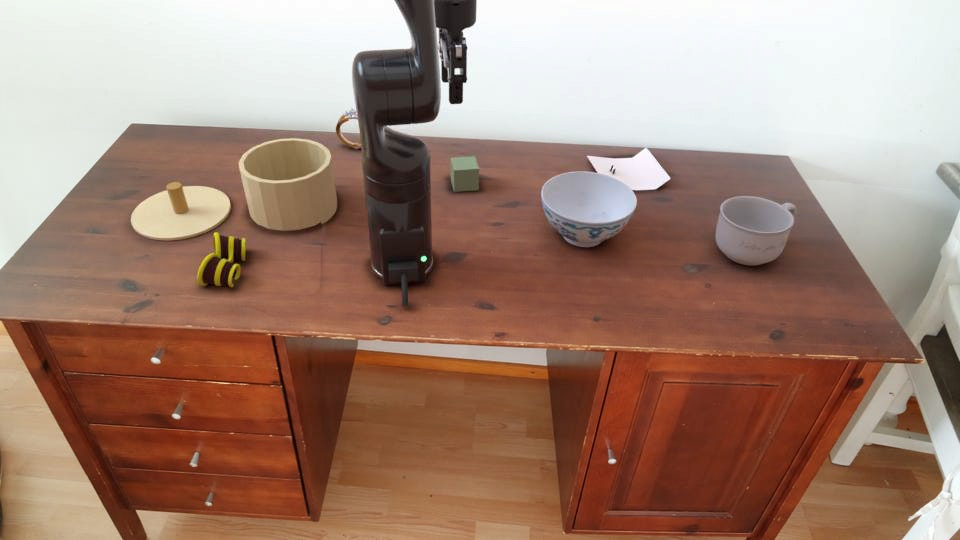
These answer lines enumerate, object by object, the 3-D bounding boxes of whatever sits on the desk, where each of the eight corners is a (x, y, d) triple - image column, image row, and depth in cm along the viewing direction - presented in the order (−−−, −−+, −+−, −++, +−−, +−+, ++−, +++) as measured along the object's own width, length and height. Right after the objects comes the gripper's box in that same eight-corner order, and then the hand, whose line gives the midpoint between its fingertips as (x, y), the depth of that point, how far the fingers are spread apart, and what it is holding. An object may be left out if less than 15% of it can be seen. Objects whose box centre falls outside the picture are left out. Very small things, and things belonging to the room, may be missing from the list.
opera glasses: (235, 296, 95) (235, 270, 92) (197, 292, 94) (195, 265, 91) (249, 255, 103) (249, 230, 100) (214, 251, 102) (213, 225, 99)
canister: (337, 229, 107) (331, 179, 101) (245, 236, 105) (233, 185, 99) (337, 183, 118) (331, 136, 112) (253, 188, 116) (243, 140, 110)
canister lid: (225, 239, 104) (217, 208, 101) (122, 247, 102) (110, 215, 98) (236, 188, 116) (229, 159, 112) (144, 194, 114) (133, 164, 110)
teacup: (732, 279, 100) (747, 236, 95) (696, 238, 109) (708, 197, 103) (809, 266, 104) (827, 224, 99) (768, 227, 112) (783, 187, 107)
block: (478, 190, 118) (479, 168, 115) (453, 192, 117) (454, 170, 115) (474, 177, 121) (475, 156, 119) (450, 179, 121) (450, 157, 118)
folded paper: (585, 160, 128) (587, 151, 126) (644, 156, 130) (646, 147, 128) (606, 193, 118) (608, 184, 117) (669, 188, 121) (671, 179, 119)
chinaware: (646, 252, 105) (655, 212, 100) (562, 271, 101) (568, 231, 96) (599, 203, 116) (606, 165, 111) (522, 219, 111) (525, 180, 106)
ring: (375, 145, 130) (372, 108, 125) (371, 153, 127) (368, 115, 122) (341, 142, 130) (337, 105, 125) (336, 150, 128) (332, 112, 123)
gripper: (422, -22, 105) (424, 76, 115) (433, 7, 94) (435, 112, 104) (468, -23, 106) (466, 74, 116) (485, 5, 95) (481, 109, 105)
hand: (451, 92), depth 110 cm, fingers open, 8 cm apart
